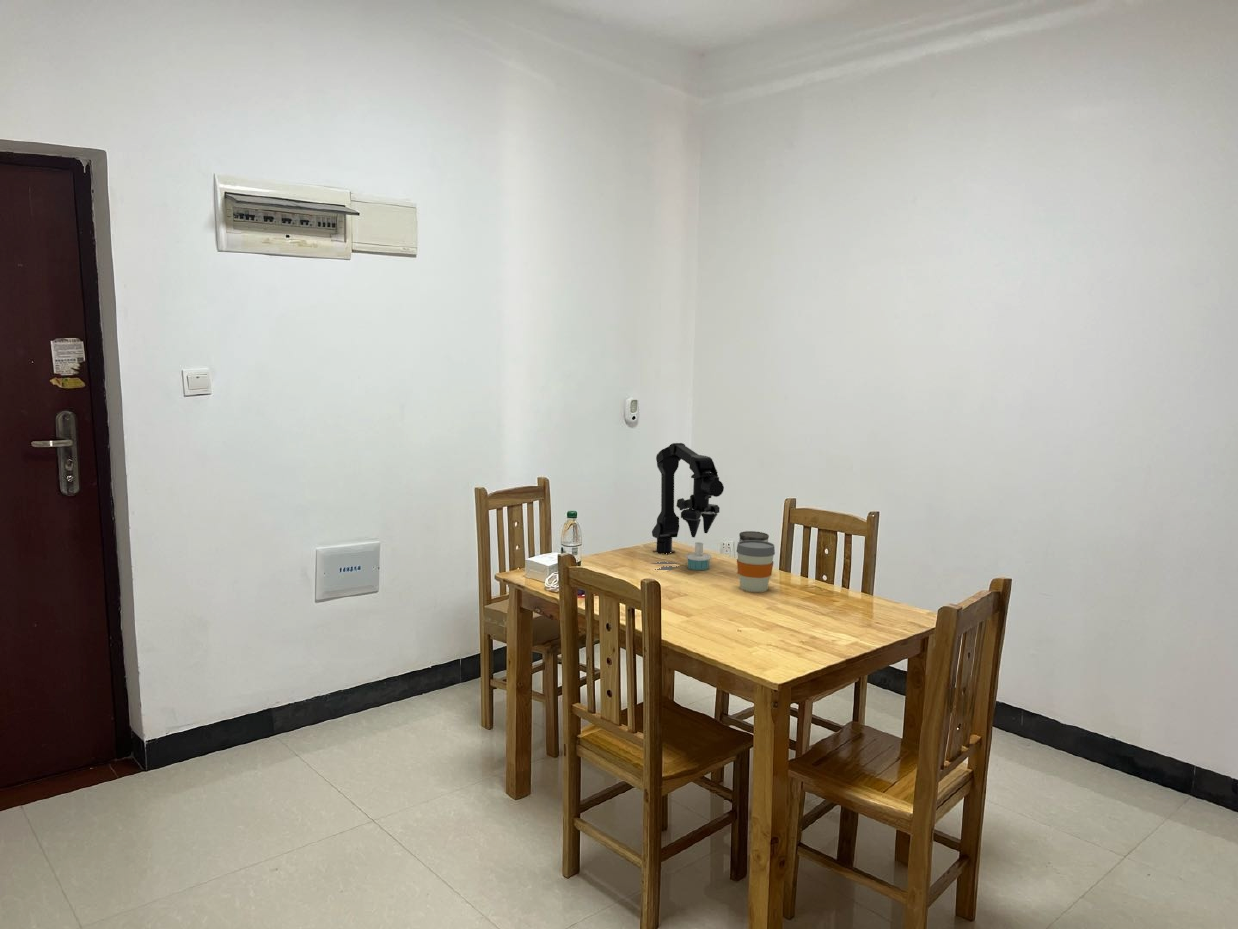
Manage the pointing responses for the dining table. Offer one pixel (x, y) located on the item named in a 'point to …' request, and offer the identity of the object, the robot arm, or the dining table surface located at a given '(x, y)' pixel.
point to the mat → (666, 566)
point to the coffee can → (753, 536)
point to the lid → (698, 553)
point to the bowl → (698, 565)
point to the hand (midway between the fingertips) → (699, 535)
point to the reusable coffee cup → (755, 564)
